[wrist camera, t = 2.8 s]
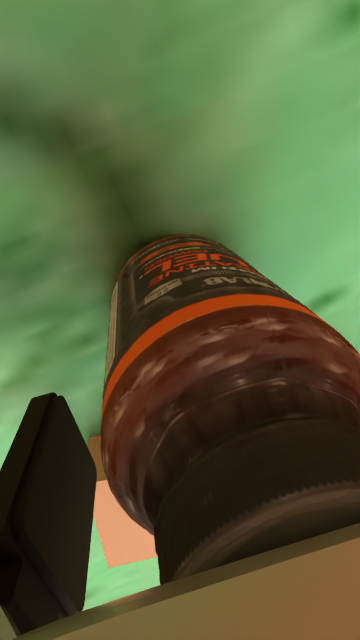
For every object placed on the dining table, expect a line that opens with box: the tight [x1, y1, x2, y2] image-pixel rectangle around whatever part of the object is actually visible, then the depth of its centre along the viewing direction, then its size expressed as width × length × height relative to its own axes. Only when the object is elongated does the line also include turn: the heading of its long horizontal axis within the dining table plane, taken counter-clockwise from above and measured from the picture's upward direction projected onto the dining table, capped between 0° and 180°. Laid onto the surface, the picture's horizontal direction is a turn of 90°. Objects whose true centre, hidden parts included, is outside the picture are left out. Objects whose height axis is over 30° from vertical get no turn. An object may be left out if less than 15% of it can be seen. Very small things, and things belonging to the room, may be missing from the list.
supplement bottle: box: [100, 235, 360, 585], centre depth 10 cm, size 6×6×11 cm
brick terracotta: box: [88, 435, 158, 568], centre depth 17 cm, size 6×3×3 cm, turn 5°
